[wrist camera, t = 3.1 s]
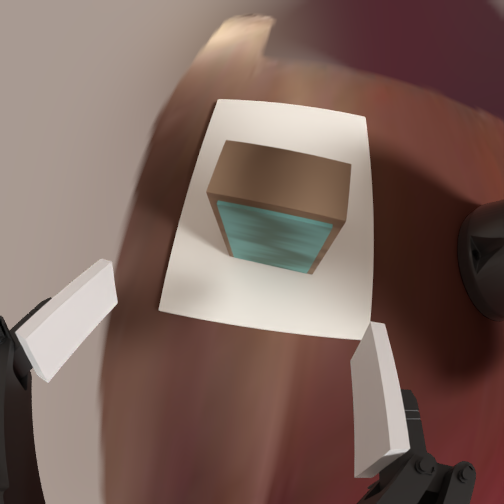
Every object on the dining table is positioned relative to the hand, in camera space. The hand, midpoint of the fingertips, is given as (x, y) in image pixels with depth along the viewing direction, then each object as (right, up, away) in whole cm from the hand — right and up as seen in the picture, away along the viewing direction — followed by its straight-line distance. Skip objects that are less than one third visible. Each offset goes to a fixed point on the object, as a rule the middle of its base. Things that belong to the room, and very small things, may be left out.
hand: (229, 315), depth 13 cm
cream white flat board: (+4, +9, +17) cm, 20 cm away
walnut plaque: (+3, +4, +14) cm, 15 cm away
